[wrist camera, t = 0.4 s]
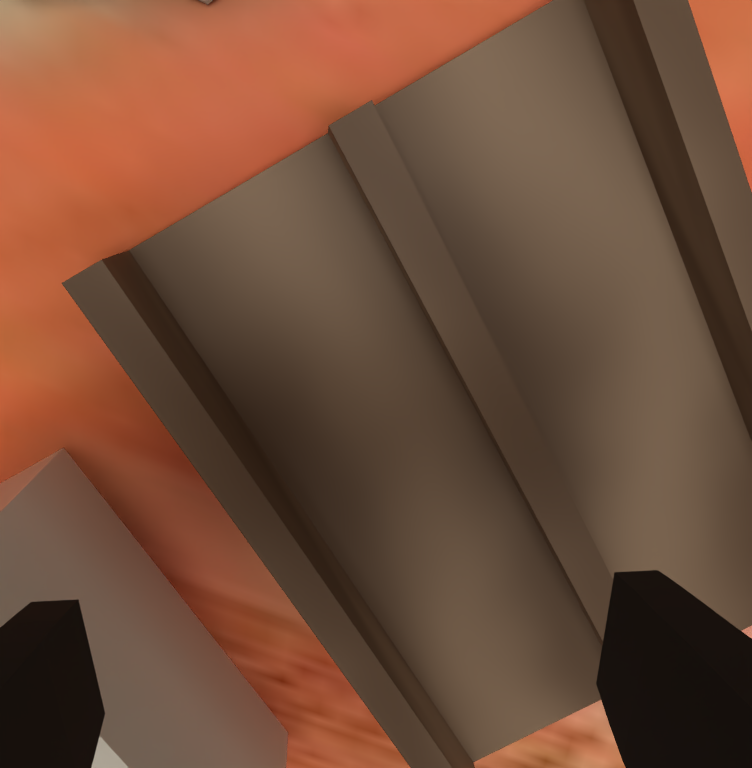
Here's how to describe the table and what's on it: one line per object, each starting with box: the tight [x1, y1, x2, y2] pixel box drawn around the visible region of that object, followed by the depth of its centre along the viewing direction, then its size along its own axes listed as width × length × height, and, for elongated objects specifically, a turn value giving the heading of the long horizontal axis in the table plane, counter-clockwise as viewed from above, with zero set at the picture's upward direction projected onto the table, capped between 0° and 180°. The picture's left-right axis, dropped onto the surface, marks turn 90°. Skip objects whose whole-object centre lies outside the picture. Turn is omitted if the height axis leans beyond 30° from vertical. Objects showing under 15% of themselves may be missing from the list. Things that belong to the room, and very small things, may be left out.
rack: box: [62, 0, 752, 768], centre depth 17 cm, size 15×19×3 cm
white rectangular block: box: [0, 448, 288, 768], centre depth 17 cm, size 3×12×6 cm, turn 29°
